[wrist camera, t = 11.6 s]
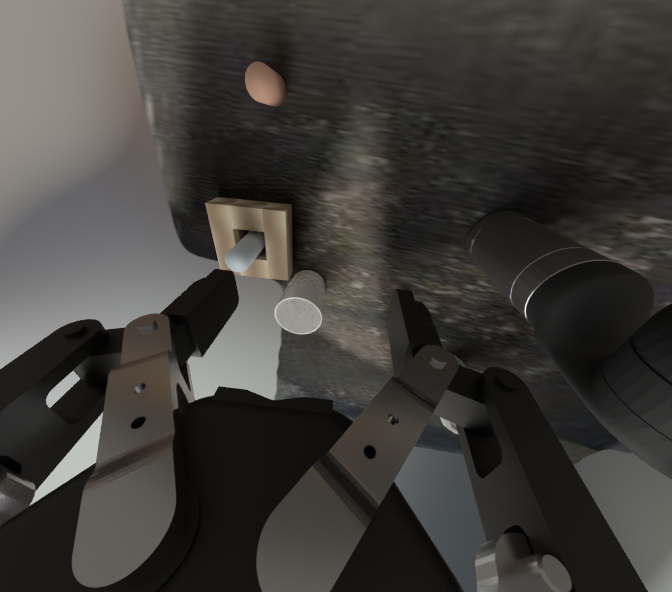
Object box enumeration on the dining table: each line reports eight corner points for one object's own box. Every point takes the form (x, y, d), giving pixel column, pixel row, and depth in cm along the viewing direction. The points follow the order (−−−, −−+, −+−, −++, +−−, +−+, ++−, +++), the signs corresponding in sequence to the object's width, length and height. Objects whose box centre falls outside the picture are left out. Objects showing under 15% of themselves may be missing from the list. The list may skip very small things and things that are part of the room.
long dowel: (268, 227, 41) (246, 252, 33) (270, 246, 43) (249, 273, 34) (248, 225, 41) (222, 249, 33) (251, 244, 43) (226, 271, 35)
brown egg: (285, 72, 29) (274, 63, 25) (287, 107, 31) (276, 104, 27) (258, 70, 29) (243, 60, 25) (261, 105, 31) (247, 101, 27)
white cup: (325, 303, 49) (318, 337, 41) (287, 296, 49) (274, 329, 41) (330, 270, 45) (325, 302, 37) (289, 263, 44) (274, 293, 36)
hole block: (291, 204, 38) (285, 211, 35) (293, 269, 45) (288, 280, 42) (218, 196, 38) (205, 203, 35) (230, 263, 45) (221, 273, 42)
